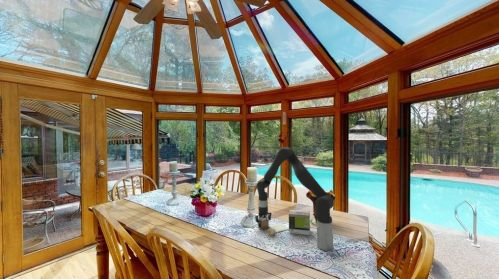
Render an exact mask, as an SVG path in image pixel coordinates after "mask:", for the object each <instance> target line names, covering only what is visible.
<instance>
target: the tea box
mask: <svg viewBox="0 0 499 279" xmlns="http://www.w3.org/2000/svg"><path fill="white" fill-rule="evenodd" d="M310 215H311V213H310V210H299V209H298V210H297V209H289V212H288V228H289V230H288V233H289V234H292V235H293V234H294V235H295V234H297V235H305V236H310V235H311V234H310V233H311V223H310V220H311V218H310V217H311V216H310Z"/></svg>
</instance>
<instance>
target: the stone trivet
mask: <svg viewBox="0 0 499 279" xmlns="http://www.w3.org/2000/svg"><path fill="white" fill-rule="evenodd" d="M270 228H272V229H275V234H277V233H281V232H285V231H289V226H286V225H284V224H283V223H281V222H278V223H275V224H269V229H270Z"/></svg>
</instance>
